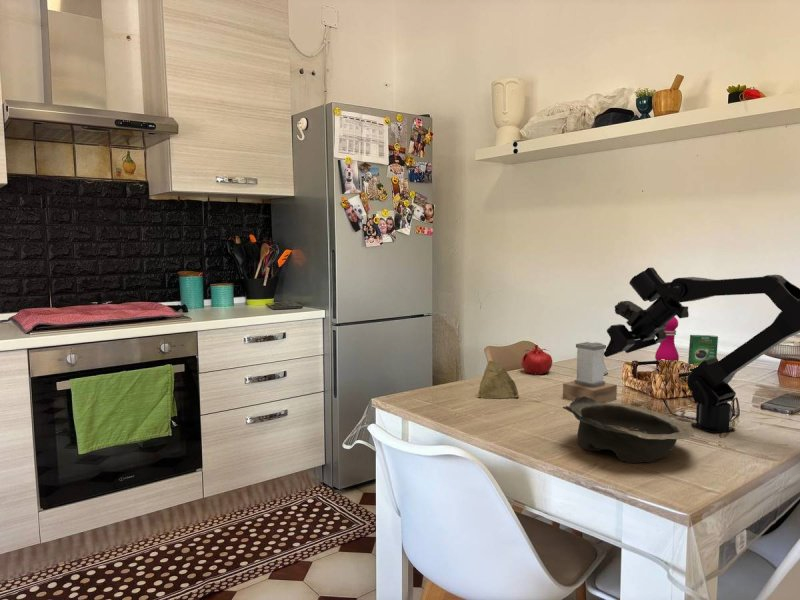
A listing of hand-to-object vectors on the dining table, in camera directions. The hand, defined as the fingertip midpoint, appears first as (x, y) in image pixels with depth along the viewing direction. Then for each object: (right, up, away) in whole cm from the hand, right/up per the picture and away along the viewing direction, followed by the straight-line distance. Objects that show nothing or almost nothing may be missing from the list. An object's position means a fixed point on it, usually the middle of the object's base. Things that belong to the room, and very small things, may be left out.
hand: (615, 353), depth 155 cm
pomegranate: (-11, -10, +41) cm, 43 cm away
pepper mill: (+33, -10, +44) cm, 55 cm away
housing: (-5, -9, +7) cm, 12 cm away
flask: (+8, -10, +39) cm, 41 cm away
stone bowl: (-9, -17, -33) cm, 38 cm away
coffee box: (+40, -10, +35) cm, 55 cm away
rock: (-29, -13, +9) cm, 33 cm away
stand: (-5, -13, +7) cm, 16 cm away
